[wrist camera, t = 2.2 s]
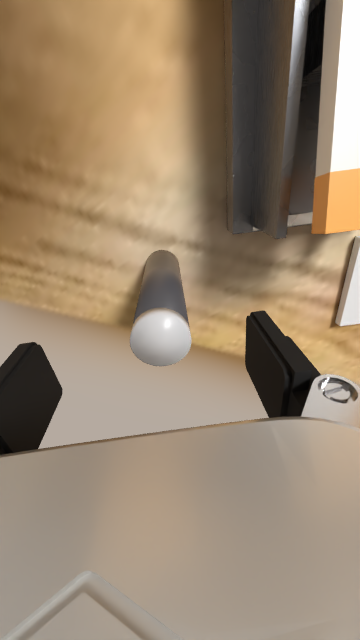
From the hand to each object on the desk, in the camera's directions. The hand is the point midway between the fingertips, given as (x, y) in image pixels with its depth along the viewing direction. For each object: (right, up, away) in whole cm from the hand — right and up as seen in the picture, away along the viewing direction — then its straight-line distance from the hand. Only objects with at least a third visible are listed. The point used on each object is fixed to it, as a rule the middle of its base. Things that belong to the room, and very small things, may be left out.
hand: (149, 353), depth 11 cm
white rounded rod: (0, +6, +11) cm, 13 cm away
